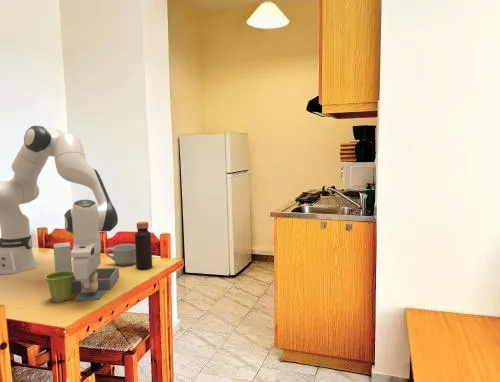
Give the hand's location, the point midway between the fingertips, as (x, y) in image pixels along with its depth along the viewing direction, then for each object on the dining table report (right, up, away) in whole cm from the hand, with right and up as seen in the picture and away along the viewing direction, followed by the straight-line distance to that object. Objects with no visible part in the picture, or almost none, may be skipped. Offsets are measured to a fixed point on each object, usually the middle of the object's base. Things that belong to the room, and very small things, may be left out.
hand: (89, 284), depth 149 cm
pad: (0, -4, 0) cm, 4 cm away
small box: (-20, -2, +25) cm, 33 cm away
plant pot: (-9, -5, -2) cm, 11 cm away
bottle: (+11, -1, +34) cm, 36 cm away
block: (0, -2, 0) cm, 2 cm away
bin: (-3, -3, +13) cm, 14 cm away
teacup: (-1, 0, +41) cm, 41 cm away
